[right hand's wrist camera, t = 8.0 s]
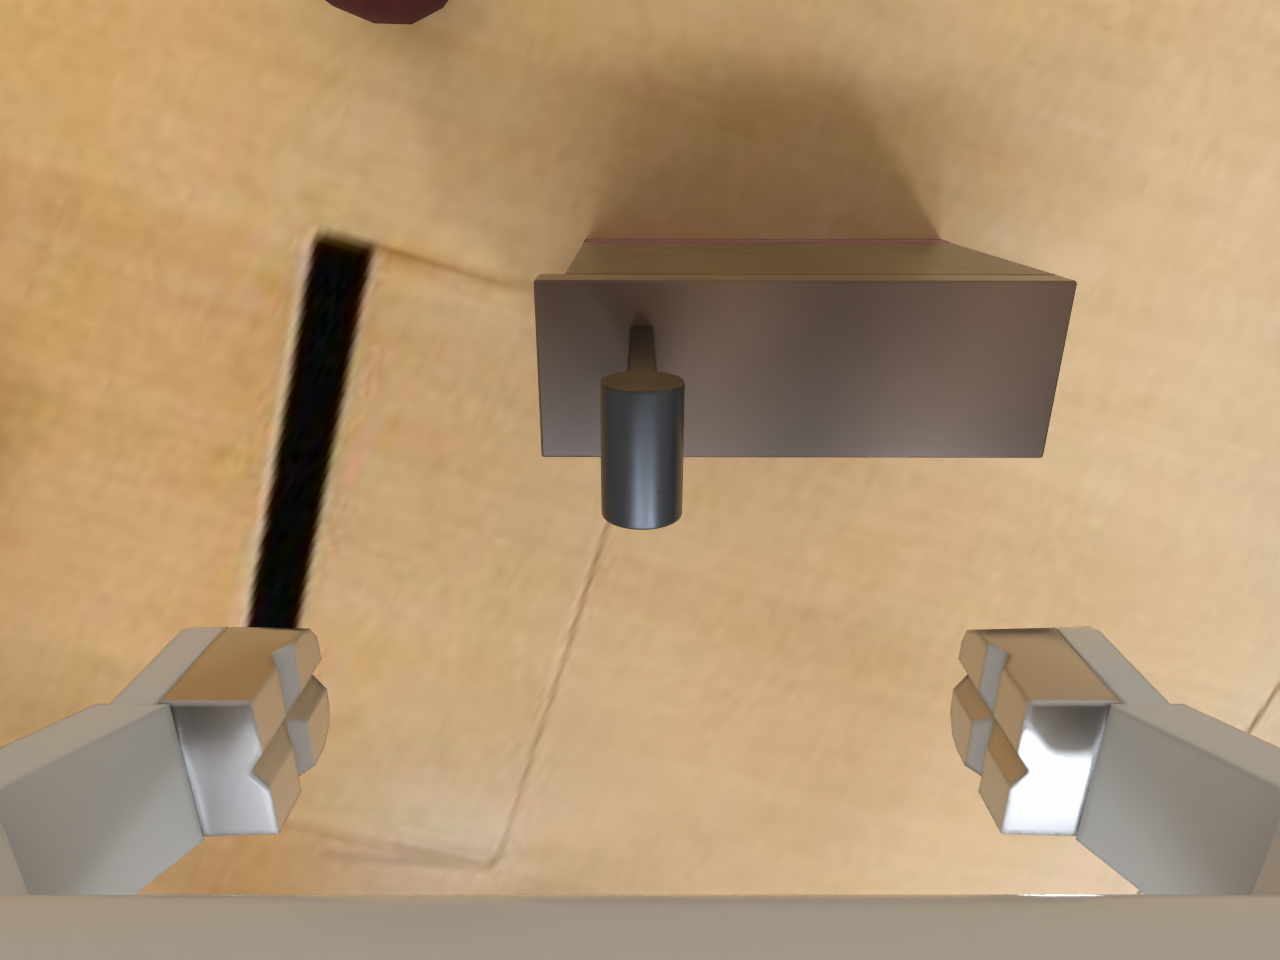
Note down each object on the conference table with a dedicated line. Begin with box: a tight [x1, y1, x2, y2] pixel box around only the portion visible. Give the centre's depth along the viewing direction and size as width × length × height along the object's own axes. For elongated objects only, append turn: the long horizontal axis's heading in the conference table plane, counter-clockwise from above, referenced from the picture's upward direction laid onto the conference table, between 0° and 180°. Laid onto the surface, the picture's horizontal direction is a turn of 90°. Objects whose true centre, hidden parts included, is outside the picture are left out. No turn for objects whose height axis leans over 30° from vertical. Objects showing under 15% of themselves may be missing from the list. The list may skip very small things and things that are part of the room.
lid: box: [534, 274, 1077, 530], centre depth 21 cm, size 15×5×9 cm, turn 90°
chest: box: [566, 239, 1055, 275], centre depth 30 cm, size 15×5×10 cm, turn 90°
